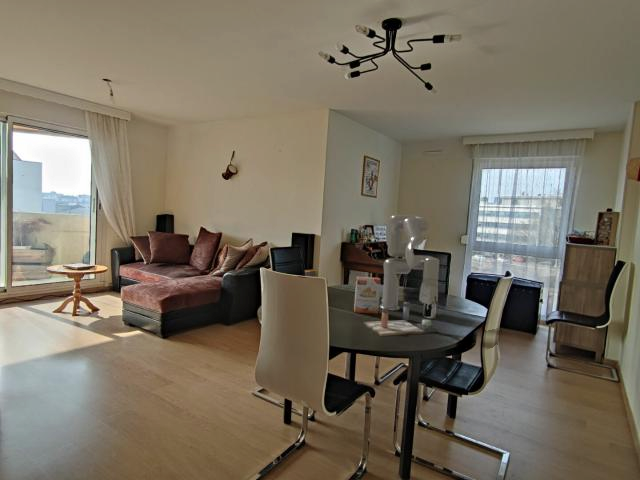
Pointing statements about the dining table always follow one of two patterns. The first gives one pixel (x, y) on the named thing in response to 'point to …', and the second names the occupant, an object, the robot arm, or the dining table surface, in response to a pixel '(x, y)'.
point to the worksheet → (394, 328)
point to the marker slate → (406, 311)
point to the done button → (426, 323)
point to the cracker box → (367, 295)
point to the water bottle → (432, 313)
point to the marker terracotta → (384, 317)
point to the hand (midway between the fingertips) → (427, 316)
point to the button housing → (426, 328)
